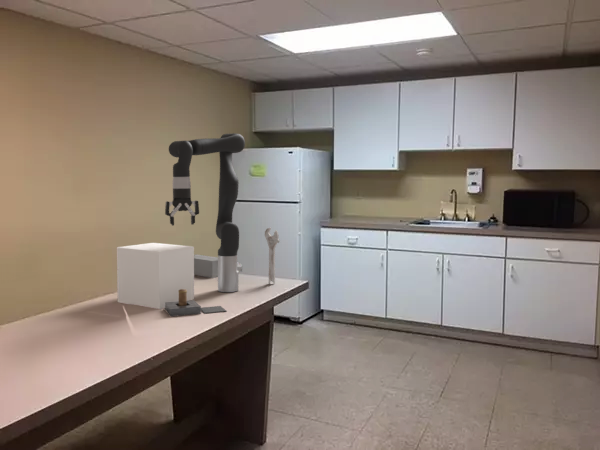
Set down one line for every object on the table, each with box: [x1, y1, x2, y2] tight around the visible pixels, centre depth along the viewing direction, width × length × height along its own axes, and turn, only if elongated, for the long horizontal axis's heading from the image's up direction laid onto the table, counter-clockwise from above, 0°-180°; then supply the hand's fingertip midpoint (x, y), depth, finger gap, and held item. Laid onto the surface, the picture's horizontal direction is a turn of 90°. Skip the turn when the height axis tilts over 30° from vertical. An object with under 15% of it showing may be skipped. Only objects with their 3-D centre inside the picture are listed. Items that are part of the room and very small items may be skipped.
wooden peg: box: [179, 289, 187, 306], centre depth 213 cm, size 3×3×9 cm
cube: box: [116, 242, 195, 310], centre depth 232 cm, size 25×21×24 cm
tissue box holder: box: [194, 254, 243, 279], centre depth 297 cm, size 25×23×11 cm
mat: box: [201, 305, 227, 315], centre depth 217 cm, size 9×9×1 cm
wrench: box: [264, 227, 281, 285], centre depth 267 cm, size 8×2×30 cm, turn 70°
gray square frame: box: [164, 299, 202, 317], centre depth 214 cm, size 12×12×3 cm
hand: (182, 224), depth 228 cm, fingers open, 8 cm apart
